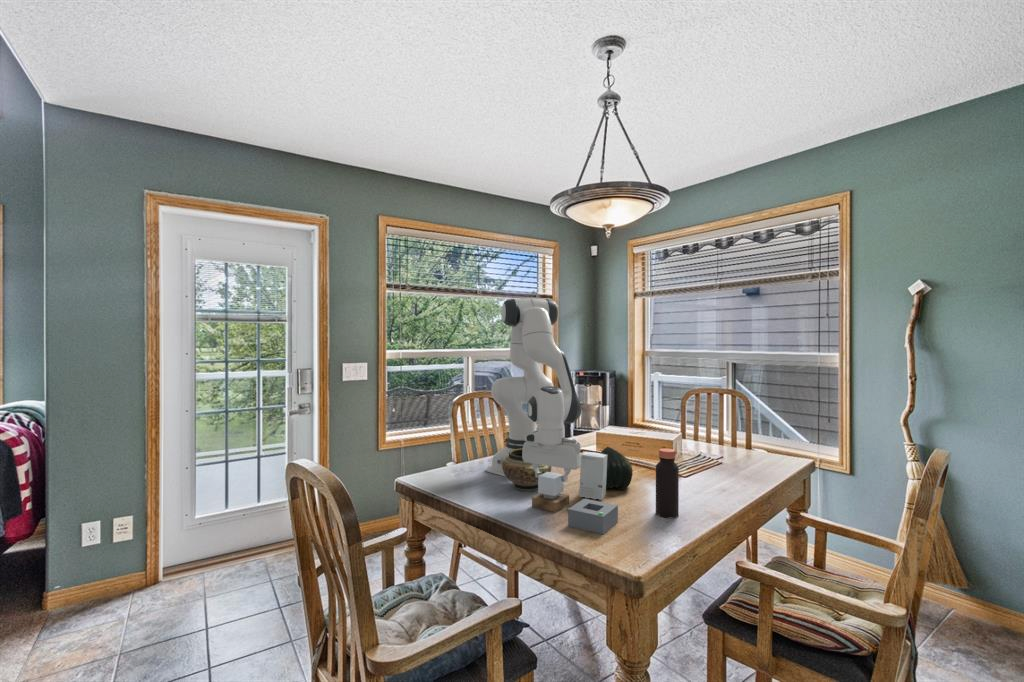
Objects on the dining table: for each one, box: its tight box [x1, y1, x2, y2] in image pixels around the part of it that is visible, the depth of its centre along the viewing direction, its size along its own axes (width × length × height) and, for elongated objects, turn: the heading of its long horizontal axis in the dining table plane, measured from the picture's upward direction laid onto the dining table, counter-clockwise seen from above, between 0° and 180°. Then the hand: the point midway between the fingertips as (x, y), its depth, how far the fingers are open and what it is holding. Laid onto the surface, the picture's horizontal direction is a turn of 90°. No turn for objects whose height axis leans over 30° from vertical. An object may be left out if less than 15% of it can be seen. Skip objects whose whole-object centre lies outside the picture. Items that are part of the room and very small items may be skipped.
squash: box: [599, 446, 634, 490], centre depth 181 cm, size 14×15×15 cm
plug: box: [537, 471, 564, 500], centre depth 160 cm, size 6×6×10 cm
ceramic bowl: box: [502, 448, 552, 491], centre depth 181 cm, size 24×18×15 cm
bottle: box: [655, 447, 680, 518], centre depth 153 cm, size 7×7×20 cm
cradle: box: [531, 492, 570, 513], centre depth 160 cm, size 9×9×3 cm
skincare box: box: [578, 451, 607, 501], centre depth 169 cm, size 8×6×15 cm
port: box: [567, 498, 619, 535], centre depth 145 cm, size 11×11×5 cm
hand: (551, 479), depth 160 cm, fingers open, 8 cm apart
